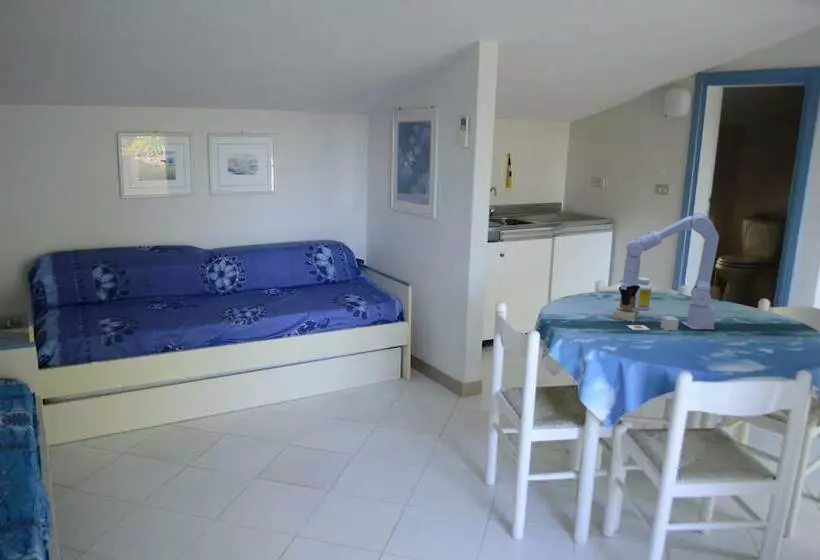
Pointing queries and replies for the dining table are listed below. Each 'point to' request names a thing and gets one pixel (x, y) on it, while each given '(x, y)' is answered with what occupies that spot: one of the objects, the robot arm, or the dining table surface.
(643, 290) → the supplement bottle
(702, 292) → the robot arm
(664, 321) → the grey block
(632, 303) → the walnut block
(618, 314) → the birch base block
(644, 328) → the card
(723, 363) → the dining table surface
